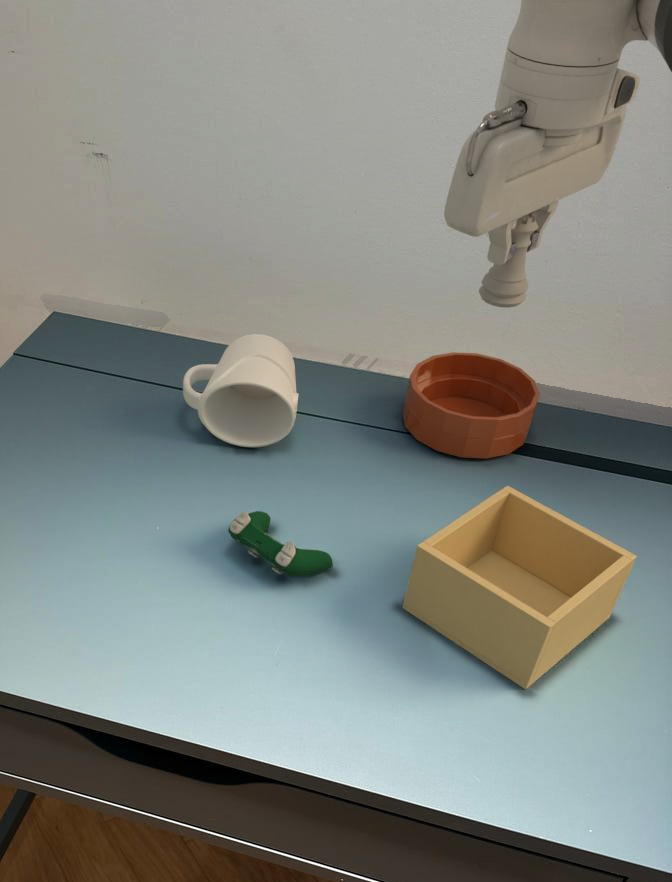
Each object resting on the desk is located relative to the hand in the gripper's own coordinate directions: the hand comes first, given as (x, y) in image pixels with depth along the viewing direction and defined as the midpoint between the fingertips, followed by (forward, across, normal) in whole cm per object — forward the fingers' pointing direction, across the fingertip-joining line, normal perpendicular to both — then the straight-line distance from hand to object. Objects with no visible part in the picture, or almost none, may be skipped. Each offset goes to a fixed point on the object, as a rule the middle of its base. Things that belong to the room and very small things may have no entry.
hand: (512, 255), depth 92 cm
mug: (+19, -18, +17) cm, 31 cm away
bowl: (+19, 0, +1) cm, 19 cm away
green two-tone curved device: (+19, -30, -1) cm, 36 cm away
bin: (+19, -20, -19) cm, 34 cm away
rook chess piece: (+4, 0, 0) cm, 4 cm away
